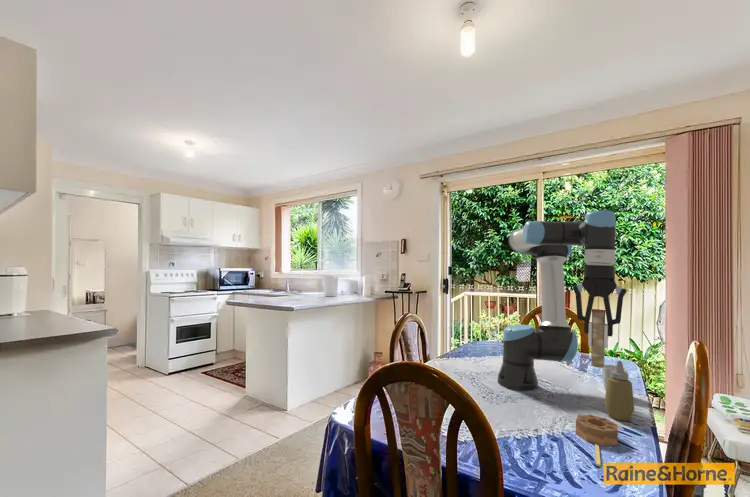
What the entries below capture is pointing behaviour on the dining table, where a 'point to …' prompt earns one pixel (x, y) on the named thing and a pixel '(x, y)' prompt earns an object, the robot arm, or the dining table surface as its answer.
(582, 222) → the robot arm
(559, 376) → the dining table surface
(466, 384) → the dining table surface
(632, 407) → the squeeze bottle
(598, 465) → the pale yellow wooden rod
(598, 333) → the needle dowel
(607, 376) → the cup
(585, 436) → the walnut bead
